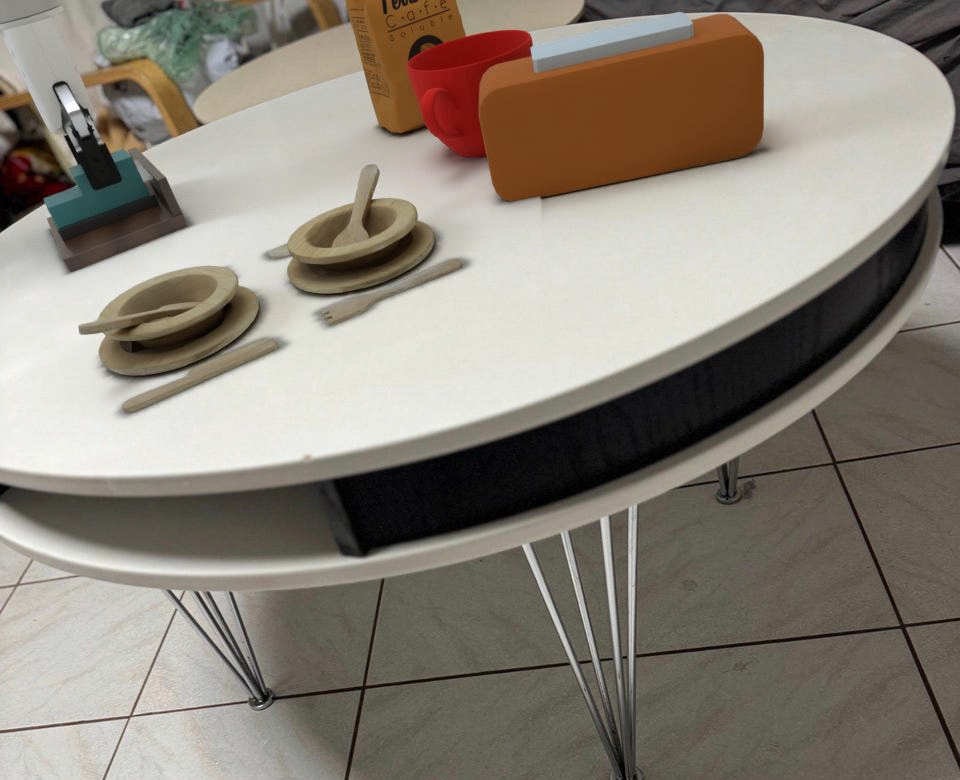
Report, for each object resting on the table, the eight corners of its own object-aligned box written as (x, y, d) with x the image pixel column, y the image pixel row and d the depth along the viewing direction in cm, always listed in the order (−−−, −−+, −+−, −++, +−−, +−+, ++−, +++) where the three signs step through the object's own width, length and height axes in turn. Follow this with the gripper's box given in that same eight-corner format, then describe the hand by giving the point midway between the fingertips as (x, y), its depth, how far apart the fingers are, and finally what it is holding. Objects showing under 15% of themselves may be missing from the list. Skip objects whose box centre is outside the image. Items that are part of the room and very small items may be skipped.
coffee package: (490, 112, 99) (448, -104, 85) (395, 145, 97) (336, -72, 83) (462, 97, 107) (419, -104, 93) (373, 127, 105) (316, -74, 91)
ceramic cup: (390, 190, 85) (362, 89, 79) (462, 129, 96) (442, 37, 90) (502, 186, 79) (480, 77, 73) (565, 122, 90) (551, 23, 84)
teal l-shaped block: (63, 241, 89) (35, 191, 86) (57, 229, 93) (31, 180, 90) (159, 204, 92) (136, 155, 89) (150, 194, 96) (127, 146, 93)
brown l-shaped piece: (72, 275, 85) (42, 223, 82) (54, 232, 99) (27, 185, 95) (189, 229, 89) (165, 177, 85) (157, 193, 102) (135, 146, 99)
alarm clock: (742, 125, 78) (740, -8, 71) (764, 154, 72) (765, 11, 65) (496, 176, 82) (472, 54, 75) (496, 208, 75) (470, 78, 68)
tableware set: (123, 421, 59) (81, 352, 55) (93, 326, 74) (58, 266, 70) (478, 266, 67) (462, 196, 63) (387, 208, 81) (369, 148, 78)
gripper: (-25, 9, 86) (59, 171, 96) (-17, 22, 73) (78, 206, 84) (47, -11, 88) (121, 149, 98) (66, -1, 75) (149, 181, 86)
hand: (101, 175), depth 91 cm, fingers open, 9 cm apart
